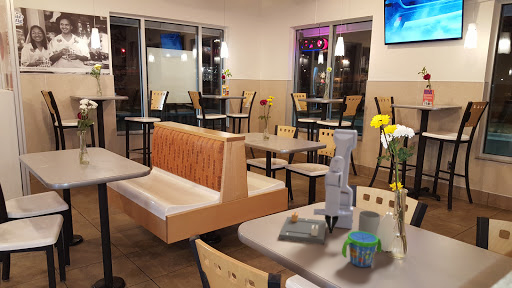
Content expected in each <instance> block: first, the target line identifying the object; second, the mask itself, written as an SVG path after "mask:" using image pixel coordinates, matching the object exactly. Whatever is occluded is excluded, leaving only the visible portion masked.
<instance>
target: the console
mask: <svg viewBox="0 0 512 288" xmlns="http://www.w3.org/2000/svg"><path fill="white" fill-rule="evenodd" d="M291 220H292V216H287V217H286V219H285V222H284V223H283V226H282V228H281V230H280V233H279V240H287V241H292V242H293V241H294V242H303V243H310V244H319V245H324V243H325V237H326V228H327V223H326V220H325V219H323V220H322V219H313V218H304V217H303V218H302V217H298V220H297V222H293V221H291ZM312 225H318V235H317V236H312V235H311V229H312Z"/></svg>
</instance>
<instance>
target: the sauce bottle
mask: <svg viewBox="0 0 512 288" xmlns="http://www.w3.org/2000/svg"><path fill="white" fill-rule="evenodd" d="M393 215H394V214H393V212H391V207H390V206H389V209H388V211H387V212H386V213H385V214H384V216H383V217H382V218H381V219H380V223H379V226H378V229H377V237H378V238H379V239H380V240H381V244H382V250H381V251H383V252H385V251H386V250H388V248H389V246H390V244H391V242H392V240H393V238H394V232H393V231H394V229H393V228H394V226H395V221H396V219H395V220H394V219H393V217H394V216H393Z"/></svg>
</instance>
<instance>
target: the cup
mask: <svg viewBox="0 0 512 288" xmlns="http://www.w3.org/2000/svg"><path fill="white" fill-rule="evenodd" d="M380 221H381V214H380V213H379V212H376V211H371V210H361V211H359V217H358V229H357V231H363V232H368V233H371V234H373V235H375V236H377V229H378V226H379V223H380Z"/></svg>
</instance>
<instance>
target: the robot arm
mask: <svg viewBox="0 0 512 288" xmlns="http://www.w3.org/2000/svg"><path fill="white" fill-rule="evenodd" d="M332 136H333V137H332V139H333V143H334V146H335V147H336V148H335V153H334V157H332V158H331V160H330V163H329V168H328V172H326V173H325V175H324V190H325V200H324V201H325V203H324V208H313V216H317V215H318V216H324V221H326V226H327V228H328V234H329V235H333V233H334V229H335V228H342V229H349V230H350V229H351V230H352V229H353V223H354V217H353V216H354V207H353V201H354V190H353V189H352V188H351V186H349V185H348V184H349V183H348V182H349V172H350V163H351V154H352V150H355V149H356V148H357V144H358V131H357V129H354V130H353V129H340V128H339V129H338V128H335V129H334V131H333V135H332Z"/></svg>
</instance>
